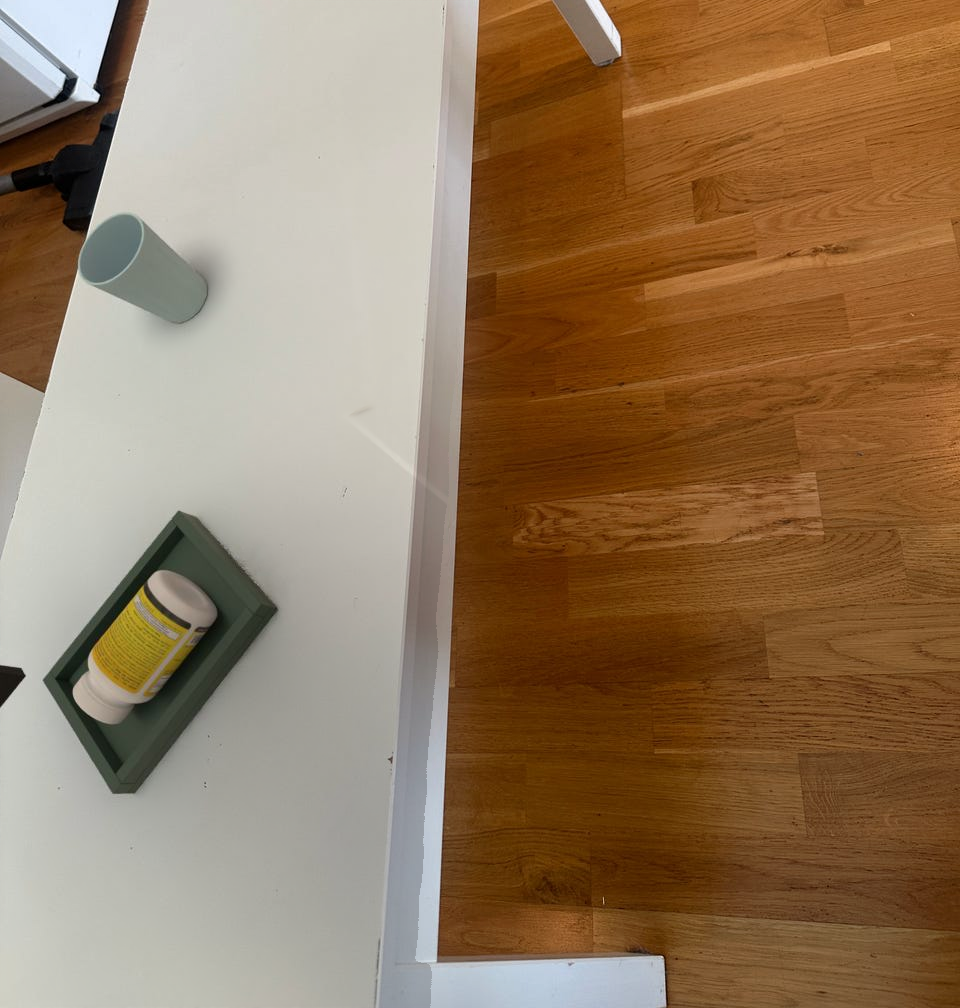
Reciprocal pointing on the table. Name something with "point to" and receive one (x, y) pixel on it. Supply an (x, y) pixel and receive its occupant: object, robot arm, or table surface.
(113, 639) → the pill bottle
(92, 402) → the table surface
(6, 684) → the robot arm
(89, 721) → the tray
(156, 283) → the cup
